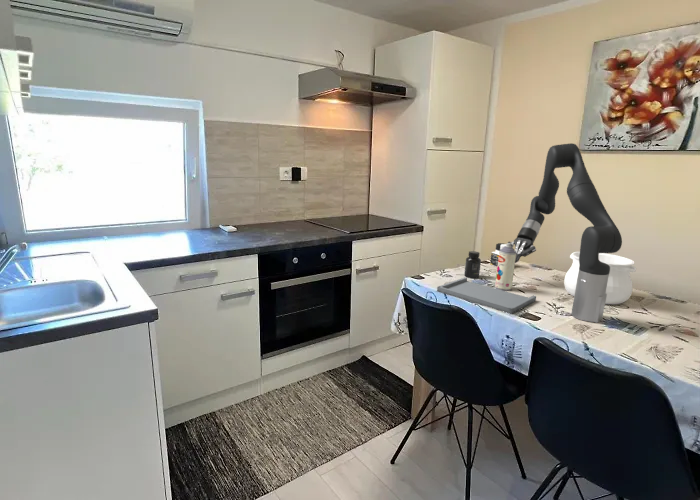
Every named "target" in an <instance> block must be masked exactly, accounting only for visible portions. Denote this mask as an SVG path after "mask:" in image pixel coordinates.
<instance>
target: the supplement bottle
mask: <svg viewBox="0 0 700 500" xmlns="http://www.w3.org/2000/svg"><path fill="white" fill-rule="evenodd" d="M480 254H481V253H480V252H479V251H477V250H476V251H475V250H470V251H468V256H467V257H466V259H465V263H464V264H465V265H464V277H465V278H467V279H479V278H480V273H481V263H482V260H481V258H480Z"/></svg>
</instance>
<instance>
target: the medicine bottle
mask: <svg viewBox="0 0 700 500" xmlns="http://www.w3.org/2000/svg"><path fill="white" fill-rule="evenodd" d="M506 245H507V243H501V242H499V243H496V245H495V251H491V256H490V262H489V265H490V266H493V267H495V268H497V266H498V258H499V251H500V249H502V248H503V247H505V246H506Z"/></svg>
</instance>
